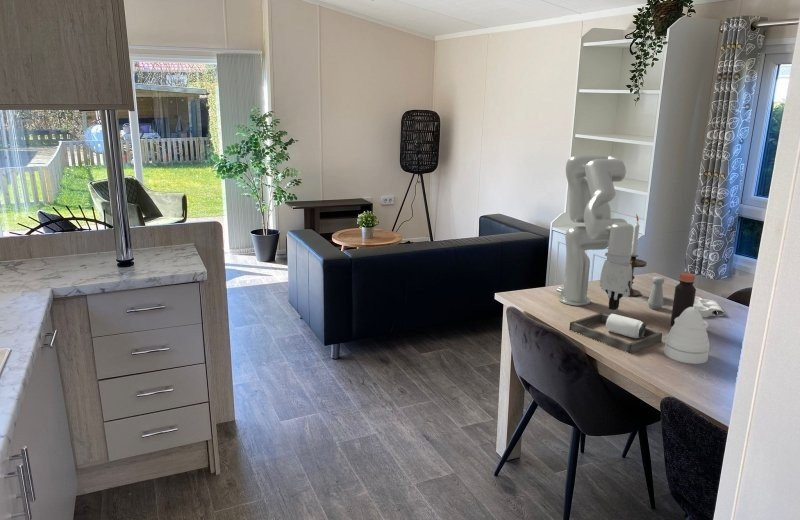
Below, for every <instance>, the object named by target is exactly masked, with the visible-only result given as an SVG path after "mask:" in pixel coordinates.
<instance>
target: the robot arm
mask: <svg viewBox="0 0 800 520" xmlns="http://www.w3.org/2000/svg"><path fill="white" fill-rule="evenodd" d="M626 174H627V170H626V166H625V163H624V162H623V160H622V159H620V158H617V157H615V156H612V155H609V154H579V155H578V154H576V155H572V156H571V157H569V158H568V159H567V161H566V164H565V176H566V179H567V183H568V188H569V201H568V202H569V204H568V205H569V218H570V221H572V222H573V223H577V224H581V223H582V224H584V225H583V226H582V225H581V226H580V225H577V226H572V227H570V228H568V229H567V231H566V232H565V240H564V241H565V253H566V255H565V268H564V280H563V286H561V285H559V286H558V288H556V292H557V293H560V295H559V296H558V300H559V301H560V302H561V303H563V304H565V305H569V306H576V307H577V306H587V305H589V304H590V303H591V298H590V297H588V288H589V278H590V267H591V260H590V258H589V255H588V254H587V253H586V251H589V250H590V251H591V250H592V251H597V250H599V251H600V250H606V249H607V252H605V254H604V256H605V257H606V260H604V262H603V263H602V264H603V265H602V268H601V273H600V277H599V287H600V289H601V291H604V292H606V294H607V298H609V299H608V309H609V310H611V311H615V310H616V311H617V310H618V308H619V307H620V300H621V299H622V298H624V297H625V298H627V297H628V296H630V292H629V291H631V287H632V288H633V284H632V266H631V264H630V259H631V254H632V245H633V236H634V227H635V226H634V225H632V224H630V223H628V221H627V220H626V219H624V218H612V217H611V216H612V210H611V206H610V202H611V201H612V200H614V198H615V197H616V189H615V186H614V183H613V182H617V183H618V182H622V181H623V180H624V179H625V177H626Z"/></svg>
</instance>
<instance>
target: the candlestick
mask: <svg viewBox="0 0 800 520" xmlns="http://www.w3.org/2000/svg"><path fill="white" fill-rule="evenodd" d="M635 217H636V223H635V224H634V226H633V227H634V232H633V241H632V250H631V259H630V264H631V266H632V285H633V284H634V283H635V282H634V280H635V275H634V271H635V268H644V267H646V266H647V261H645V260H643V259H640V258H639V259H638V258H637V257H639V255H637V249H638V242H639V233H640V224H639V219H640V218H639V216H638V214H637V213H636V215H635ZM629 292H630V296H628V297H631V298H637V297H641V293H642V292H641V291H640V290H637V289H634V288H633V286H632V287H631V291H629Z"/></svg>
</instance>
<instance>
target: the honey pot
mask: <svg viewBox="0 0 800 520" xmlns="http://www.w3.org/2000/svg"><path fill="white" fill-rule="evenodd" d="M701 308H702V305H700V304H693V307H689V308H687V309H685V310H684V311H683V312H682V313H681V315H680V316H679V317H677V318H675V320H674V321H675V323H674V325H673V326H671V327H670V330H669V332H668V333H667V335H666V337H665V339H666V340H665V346H664V354H665V356H666V357H668V358H669V359H672V360H674V361H677V362H681V363H685V364H694V365H695V364H696V365H697V364H703V363H706V362H708V359H709V352H710V341H709V337H708V332H707V329H708V327H709V326H710V325H709V323H708V322H707V320H704V318H702V316H701V314H700V312H699V311H700V310H701Z"/></svg>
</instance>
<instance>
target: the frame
mask: <svg viewBox="0 0 800 520" xmlns="http://www.w3.org/2000/svg"><path fill="white" fill-rule="evenodd" d="M609 315H610V314H606V313H603V312H599V313H596V314H593V315H589V316H586V317H584V318H583V317H582V318H580V319H576V320H574V321H570V322H569V329H568V331H570V330H572V331H571V332H573V331H574V332H573V333H575V332H577V333H576V334H578V333H580V334H579V335H581V334H582V335H581V336H583V335H584V337H586V336H587V337H586V338H588V337H589V339H591V338H592V339H591V340H594V339H595V340H594V341H596V340H597V342H599V341H600V342H599V343H601V342H603V343H602V344H604V343H605V344H604V345H606V346H609V345H610V347H612V348H614V347H615V349H618V350H620V351H622V350H623V351H622V352H625V351H626V352H625V353H627V352H628V353H627V354H630V353H631V354H634V353H635V352H638V350H639V351H640V350H644V349H646V348H649V347H650V346H653V345H656V344H659V343H660V342H662V338H663V333H662V332H659V331H656V330H654V329H650V328H648V327H646V329H645V333H644V336H643V337H642V338H641V339H640V338H639V339H638V340H636V341H633V342H628V341H626V340H624V339H623V340H622V339H621V338H618V337H615V336H611V335H609V334H606V333H604V332H601V331H598V330H595V329H593V328H590V327H589V326H591V324H592V325H595V323H596V324H598V323H603V324H606V320H607V318H608V316H609ZM588 325H589V326H588ZM585 326H586V327H585Z"/></svg>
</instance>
